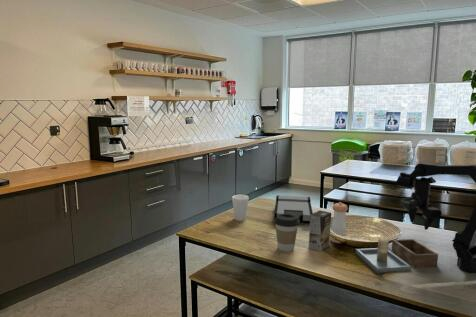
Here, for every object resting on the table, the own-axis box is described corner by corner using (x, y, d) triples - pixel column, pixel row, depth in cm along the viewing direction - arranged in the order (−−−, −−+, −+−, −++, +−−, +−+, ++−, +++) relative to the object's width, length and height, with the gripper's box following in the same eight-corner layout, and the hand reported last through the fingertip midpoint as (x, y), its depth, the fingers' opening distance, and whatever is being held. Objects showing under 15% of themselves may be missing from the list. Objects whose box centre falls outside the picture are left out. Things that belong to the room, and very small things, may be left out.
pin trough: (436, 268, 140) (438, 254, 139) (414, 269, 138) (415, 255, 137) (411, 251, 155) (413, 238, 154) (391, 252, 154) (392, 239, 153)
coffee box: (321, 251, 154) (322, 217, 151) (308, 247, 158) (309, 214, 155) (329, 245, 161) (331, 212, 158) (317, 241, 165) (319, 209, 162)
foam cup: (229, 217, 198) (229, 195, 196) (243, 215, 202) (244, 194, 200) (236, 222, 190) (236, 200, 188) (251, 220, 194) (251, 198, 192)
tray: (410, 272, 136) (411, 266, 135) (377, 274, 134) (378, 268, 133) (385, 252, 153) (385, 247, 153) (355, 254, 151) (356, 249, 151)
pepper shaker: (327, 240, 167) (329, 202, 164) (335, 236, 172) (337, 199, 169) (341, 244, 162) (343, 205, 159) (348, 240, 167) (351, 202, 164)
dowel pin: (389, 262, 142) (390, 242, 140) (380, 263, 141) (381, 242, 140) (383, 258, 146) (385, 238, 144) (374, 258, 145) (376, 238, 144)
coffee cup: (299, 244, 161) (300, 214, 159) (297, 255, 150) (298, 222, 148) (275, 242, 164) (276, 211, 162) (271, 251, 153) (272, 219, 151)
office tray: (273, 225, 187) (274, 210, 186) (276, 207, 219) (276, 195, 217) (312, 227, 184) (313, 213, 183) (309, 209, 216) (309, 196, 214)
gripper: (392, 186, 156) (389, 219, 159) (419, 197, 138) (416, 234, 141) (414, 186, 158) (411, 218, 161) (444, 196, 140) (440, 233, 142)
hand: (418, 225), depth 151 cm, fingers open, 9 cm apart
